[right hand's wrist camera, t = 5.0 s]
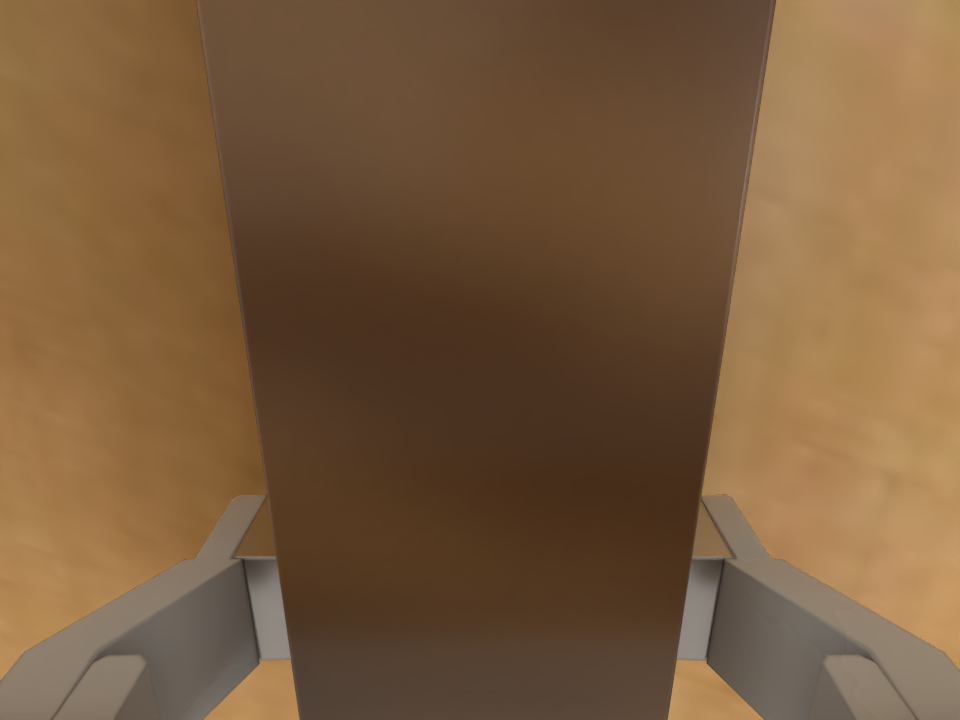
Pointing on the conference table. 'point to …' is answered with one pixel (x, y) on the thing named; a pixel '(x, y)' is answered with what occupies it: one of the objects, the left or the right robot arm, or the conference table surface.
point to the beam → (484, 333)
